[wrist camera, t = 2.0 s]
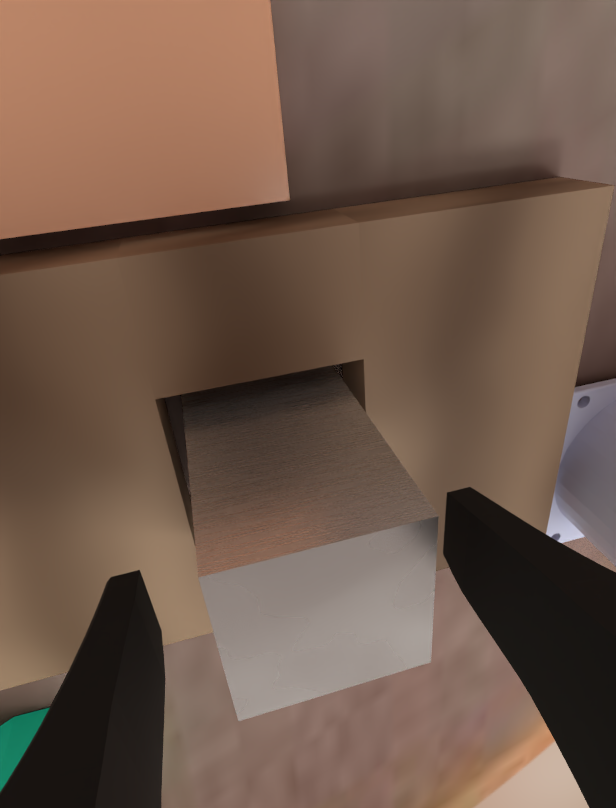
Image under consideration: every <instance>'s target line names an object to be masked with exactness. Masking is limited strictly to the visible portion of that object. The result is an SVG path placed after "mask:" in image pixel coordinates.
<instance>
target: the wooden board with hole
mask: <svg viewBox="0 0 616 808" xmlns="http://www.w3.org/2000/svg"><path fill="white" fill-rule="evenodd" d="M613 191H614V185H609V184H602V183H596V182H589V181H583V180H576V179H570V178H563V177H556V178H549V179H542V180H535V181H528V182H521V183H513V184H506V185H499V186H492V187H485V188H478V189H471V190H463V191H456V192H449V193H442V194H435V195H428V196H420V197H413V198H406V199H399V200H392V201H385V202H378V203H370V204H363V205H356V206H349V207H342V208H335V209H328V210H320V211H313V212H306V213H299V214H292V215H285V216H277V217H270V218H263V219H256V220H249V221H242V222H235V223H227V224H220V225H213V226H206V227H199V228H192V229H185V230H177V231H170V232H163V233H156V234H149V235H142V236H134V237H127V238H120V239H113V240H106V241H99V242H92V243H84V244H77V245H70V246H63V247H56V248H49V249H41V250H34V251H27V252H20V253H13V254H6V255H0V690H4V689H8V688H11V687H15V686H18V685H22V684H26V683H29V682H33V681H37V680H40V679H44V678H48V677H51V676H55V675H59V674H62V673H66V672H68V671H69V669H70V667H71V665H72V663H73V660H74V658H75V656H76V654H77V652H78V650H79V648H80V646H81V643H82V641H83V639H84V637H85V635H86V632H87V630H88V628H89V625H90V623H91V621H92V618H93V616H94V614H95V611H96V609H97V606H98V604H99V601H100V599H101V596H102V593H103V591H104V588H105V585H106V583H107V581H108V580H109V579H110V577H113V576H117V575H121V574H125V573H129V572H133V571H137V570H140V572H141V575H142V577H143V580H144V583H145V586H146V589H147V591H148V594H149V597H150V600H151V603H152V605H153V608H154V611H155V614H156V616H157V619H158V622H159V625H160V628H161V630H162V641H163V646H164V645H168V644H172V643H175V642H179V641H183V640H186V639H190V638H193V637H197V636H201V635H204V634H208V633H212V632H213V629H212V625H211V621H210V618H209V614H208V611H207V607H206V604H205V600H204V597H203V593H202V589H201V586H200V582H199V579H198V570H197V559H196V548H195V537H194V526H193V515H192V504H191V499H190V496H189V492H188V488H187V484H186V480H185V477H184V473H183V469H182V465H181V461H180V457H179V454H178V450H177V446H176V442H175V438H174V435H173V431H172V427H171V423H170V419H169V416H168V412H167V408H166V404H165V400H164V398H165V397H171V396H176V395H181V394H186V393H191V392H196V391H202V390H207V389H212V388H217V387H222V386H227V385H233V384H238V383H243V382H248V381H253V380H258V379H263V378H269V377H274V376H279V375H284V374H289V373H294V372H300V371H305V370H310V369H315V368H320V367H325V366H331V365H336V364H341V363H342V371H343V381H344V382H345V384H346V385H347V387H348V388H349V389H350V391H351V392H352V394H353V395H354V397H355V398H356V399H357V401H358V402H359V404H360V405H361V407H362V408H363V409H364V411H365V412H366V414H367V415H368V416H369V418H370V419H371V421H372V422H373V424H374V425H375V426H376V428H377V429H378V431H379V432H380V434H381V435H382V436H383V438H384V439H385V441H386V442H387V443H388V445H389V446H390V448H391V449H392V451H393V452H394V453H395V455H396V456H397V458H398V459H399V461H400V462H401V463H402V465H403V466H404V468H405V469H406V470H407V472H408V473H409V475H410V476H411V478H412V479H413V480H414V482H415V483H416V485H417V486H418V487H419V489H420V490H421V492H422V493H423V495H424V496H425V497H426V499H427V500H428V502H429V503H430V505H431V506H432V507H433V509H434V510H435V512H436V513H437V514H438V516H439V518H438V537H437V556H436V571H438V570H441V569H445V568H449V565H448V563H447V561H446V559H445V557H444V555H443V544H444V528H445V512H446V496H447V492H451V491H455V490H459V489H463V488H467V487H471V488H473V489H475V490H476V491H478V492H479V493H481V494H483V495H484V496H486V497H487V498H489V499H490V500H492V501H494V502H495V503H497V504H498V505H500V506H501V507H503V508H504V509H506V510H508V511H509V512H511V513H512V514H514V515H516V516H517V517H519V518H520V519H522V520H523V521H525V522H527V523H528V524H530V525H531V526H533V527H535V528H536V529H538V530H540V531H541V532H543V533H545V534H546V531H547V526H548V521H549V516H550V511H551V506H552V501H553V496H554V491H555V486H556V481H557V475H558V470H559V465H560V460H561V455H562V450H563V445H564V440H565V435H566V430H567V425H568V419H569V414H570V409H571V404H572V399H573V394H574V389H575V384H576V379H577V374H578V369H579V364H580V358H581V353H582V348H583V343H584V338H585V333H586V328H587V323H588V318H589V313H590V308H591V302H592V297H593V292H594V287H595V282H596V277H597V272H598V267H599V262H600V257H601V252H602V246H603V241H604V236H605V231H606V226H607V221H608V216H609V211H610V206H611V201H612V196H613Z"/></svg>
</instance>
